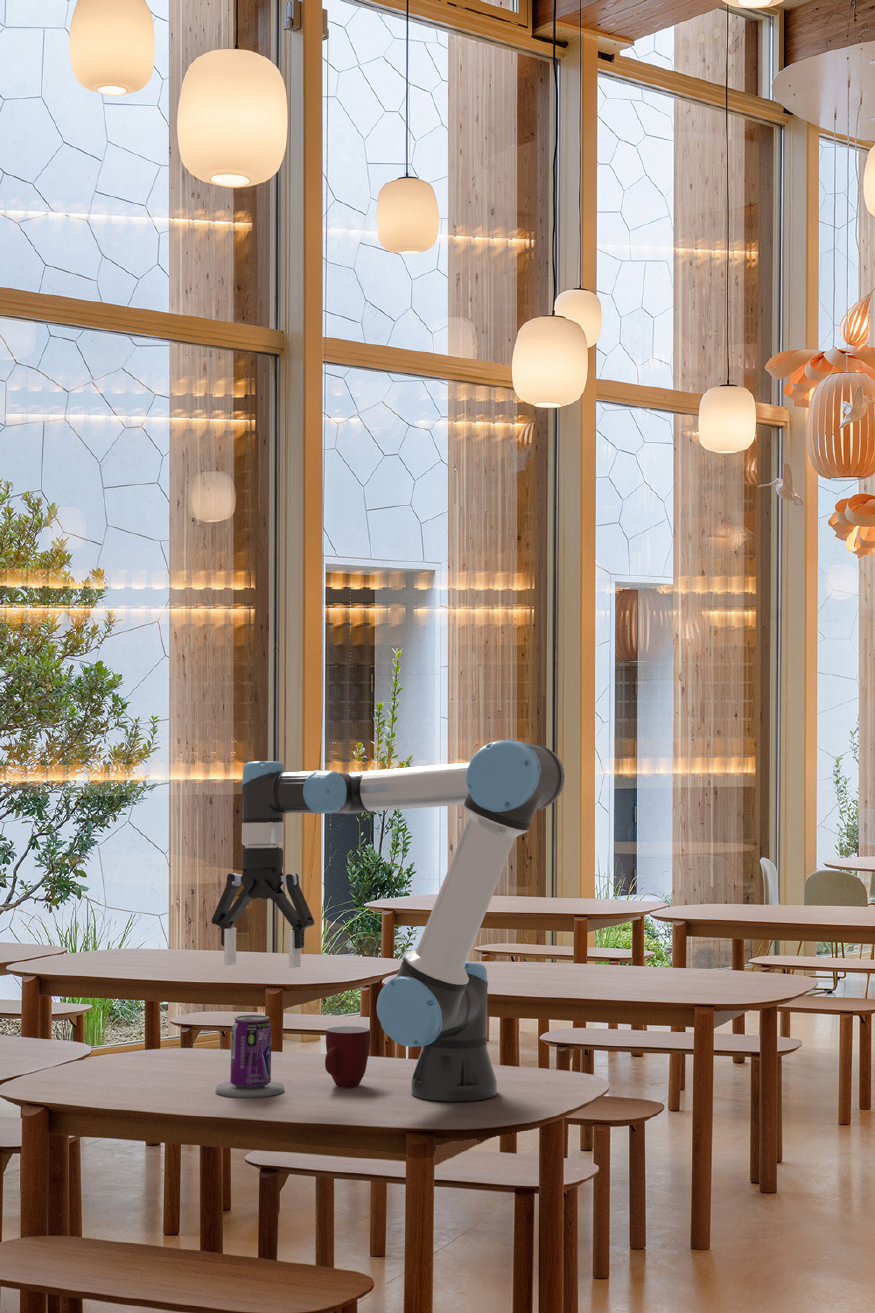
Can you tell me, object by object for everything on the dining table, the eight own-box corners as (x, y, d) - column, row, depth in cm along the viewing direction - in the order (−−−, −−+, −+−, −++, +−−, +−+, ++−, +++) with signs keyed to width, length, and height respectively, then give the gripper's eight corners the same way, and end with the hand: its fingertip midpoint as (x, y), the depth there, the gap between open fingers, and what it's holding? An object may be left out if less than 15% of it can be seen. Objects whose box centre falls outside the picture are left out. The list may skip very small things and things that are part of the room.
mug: (351, 1094, 246) (352, 1036, 247) (310, 1090, 249) (311, 1033, 250) (377, 1084, 255) (377, 1028, 256) (337, 1080, 258) (338, 1025, 259)
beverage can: (259, 1091, 243) (261, 1021, 245) (223, 1088, 246) (224, 1019, 247) (277, 1084, 250) (278, 1015, 251) (241, 1081, 252) (243, 1013, 254)
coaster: (296, 1088, 250) (296, 1084, 251) (259, 1100, 240) (259, 1095, 240) (240, 1082, 256) (240, 1078, 256) (202, 1094, 245) (202, 1089, 245)
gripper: (332, 846, 251) (332, 966, 249) (216, 846, 262) (215, 961, 259) (311, 847, 244) (311, 970, 242) (193, 847, 255) (192, 965, 252)
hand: (262, 966), depth 251 cm, fingers open, 13 cm apart
